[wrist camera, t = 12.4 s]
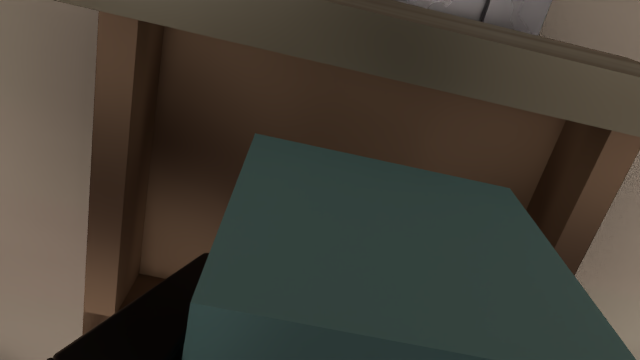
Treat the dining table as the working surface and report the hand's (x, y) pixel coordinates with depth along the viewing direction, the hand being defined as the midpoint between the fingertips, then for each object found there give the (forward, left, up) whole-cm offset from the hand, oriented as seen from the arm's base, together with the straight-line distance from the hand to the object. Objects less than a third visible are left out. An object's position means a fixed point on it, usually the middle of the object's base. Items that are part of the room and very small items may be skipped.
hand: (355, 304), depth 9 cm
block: (0, 0, -1) cm, 1 cm away
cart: (+1, 0, -10) cm, 10 cm away
